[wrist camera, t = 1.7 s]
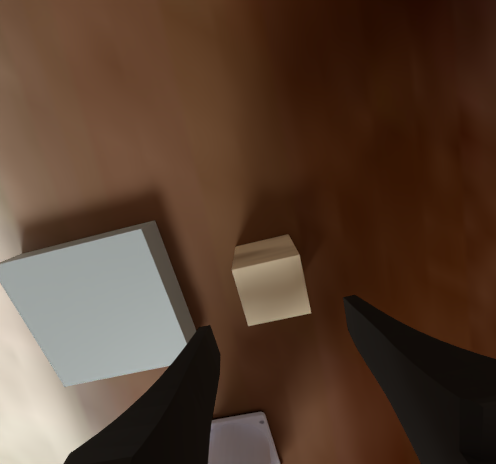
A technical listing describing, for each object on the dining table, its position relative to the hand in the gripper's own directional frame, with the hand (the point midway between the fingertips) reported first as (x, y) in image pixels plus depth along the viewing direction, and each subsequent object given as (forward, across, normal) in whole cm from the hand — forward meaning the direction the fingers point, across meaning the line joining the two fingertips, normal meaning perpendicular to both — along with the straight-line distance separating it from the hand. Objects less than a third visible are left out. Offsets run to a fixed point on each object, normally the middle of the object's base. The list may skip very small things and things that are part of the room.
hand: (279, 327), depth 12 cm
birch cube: (+8, 0, 0) cm, 8 cm away
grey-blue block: (+8, +14, 0) cm, 16 cm away
